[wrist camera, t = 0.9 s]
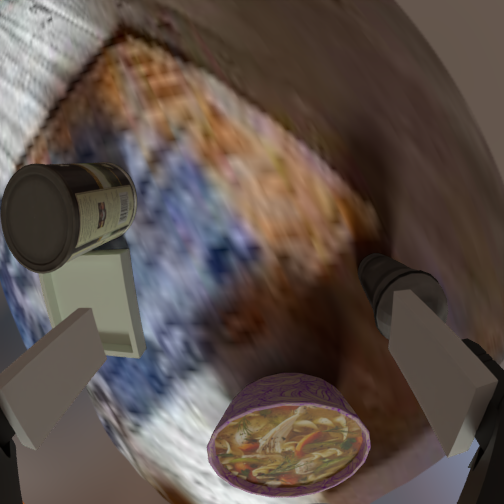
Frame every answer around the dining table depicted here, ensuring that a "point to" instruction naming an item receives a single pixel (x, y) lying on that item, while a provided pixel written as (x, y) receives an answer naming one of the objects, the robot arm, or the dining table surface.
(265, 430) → the bowl of food
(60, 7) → the dining table surface
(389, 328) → the beverage cup
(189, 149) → the dining table surface
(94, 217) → the coffee can
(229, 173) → the dining table surface
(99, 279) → the tray
